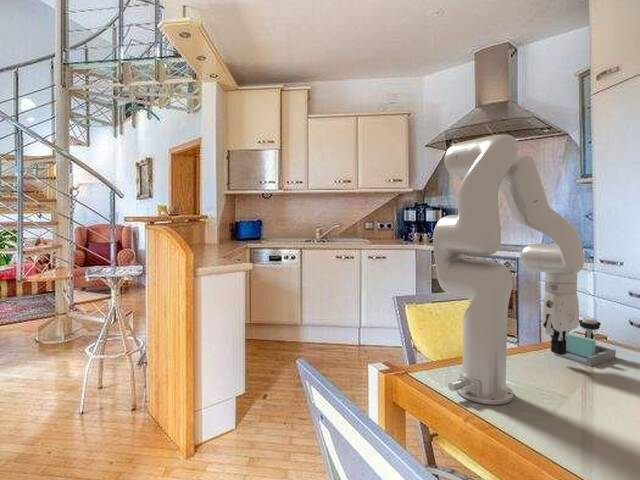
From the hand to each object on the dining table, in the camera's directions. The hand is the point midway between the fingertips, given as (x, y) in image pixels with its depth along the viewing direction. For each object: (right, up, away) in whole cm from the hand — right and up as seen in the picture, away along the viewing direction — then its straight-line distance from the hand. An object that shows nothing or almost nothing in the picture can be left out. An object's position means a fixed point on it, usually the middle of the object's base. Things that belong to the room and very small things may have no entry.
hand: (558, 352), depth 107 cm
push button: (+13, -2, +7) cm, 15 cm away
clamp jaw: (+9, -2, +5) cm, 10 cm away
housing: (+12, -3, +6) cm, 13 cm away
